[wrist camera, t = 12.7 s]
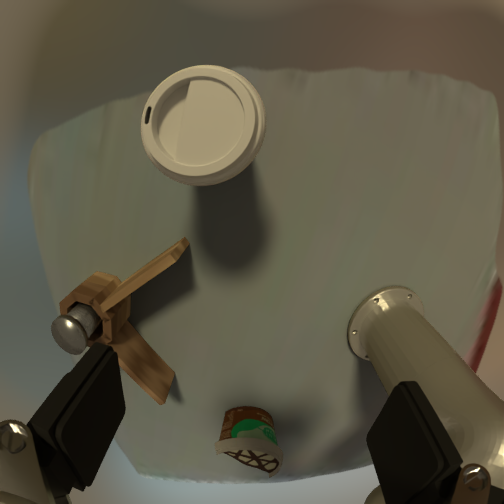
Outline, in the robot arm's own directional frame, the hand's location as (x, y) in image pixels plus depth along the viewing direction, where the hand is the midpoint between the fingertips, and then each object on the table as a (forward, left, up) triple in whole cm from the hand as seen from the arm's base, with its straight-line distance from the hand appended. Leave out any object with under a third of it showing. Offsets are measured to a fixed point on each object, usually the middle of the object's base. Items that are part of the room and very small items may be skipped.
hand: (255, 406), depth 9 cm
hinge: (-3, +18, -28) cm, 34 cm away
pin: (+3, +24, -28) cm, 37 cm away
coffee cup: (+11, -2, -29) cm, 31 cm away
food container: (-28, +18, -29) cm, 44 cm away
